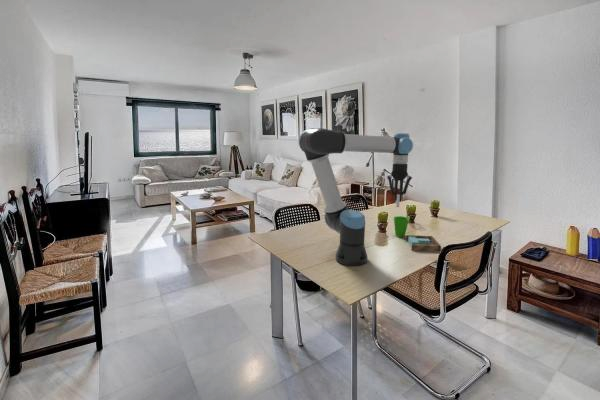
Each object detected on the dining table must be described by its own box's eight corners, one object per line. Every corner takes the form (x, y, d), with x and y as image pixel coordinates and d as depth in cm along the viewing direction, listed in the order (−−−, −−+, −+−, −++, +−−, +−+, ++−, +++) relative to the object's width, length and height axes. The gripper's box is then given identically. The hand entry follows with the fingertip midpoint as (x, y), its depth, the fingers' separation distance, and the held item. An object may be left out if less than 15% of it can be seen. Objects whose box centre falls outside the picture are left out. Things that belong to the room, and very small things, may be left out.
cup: (408, 234, 194) (410, 217, 192) (407, 239, 186) (408, 221, 184) (393, 233, 198) (394, 215, 195) (391, 237, 190) (392, 219, 187)
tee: (411, 248, 172) (412, 242, 171) (407, 242, 182) (408, 236, 181) (431, 249, 171) (432, 242, 170) (426, 242, 180) (427, 236, 180)
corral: (411, 250, 169) (412, 245, 168) (405, 240, 185) (405, 235, 184) (440, 251, 167) (440, 246, 166) (431, 241, 183) (432, 235, 182)
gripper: (388, 163, 169) (385, 207, 174) (414, 163, 167) (411, 208, 172) (386, 162, 176) (384, 204, 181) (411, 162, 174) (408, 205, 179)
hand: (397, 206), depth 176 cm, fingers closed
